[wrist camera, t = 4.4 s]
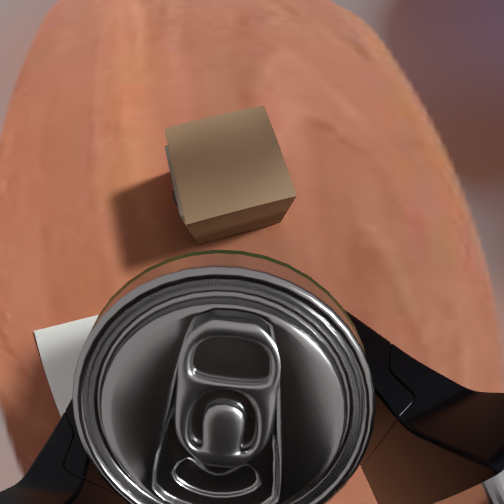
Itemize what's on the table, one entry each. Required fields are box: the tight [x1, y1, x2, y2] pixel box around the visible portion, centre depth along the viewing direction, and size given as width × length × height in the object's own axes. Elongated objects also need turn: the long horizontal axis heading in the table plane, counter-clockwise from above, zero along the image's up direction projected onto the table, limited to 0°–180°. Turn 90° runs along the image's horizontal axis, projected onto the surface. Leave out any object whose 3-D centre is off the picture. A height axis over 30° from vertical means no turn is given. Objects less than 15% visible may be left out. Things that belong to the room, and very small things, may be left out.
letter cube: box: [165, 106, 296, 244], centre depth 15 cm, size 4×5×4 cm
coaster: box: [34, 315, 98, 417], centre depth 15 cm, size 7×7×1 cm
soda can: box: [72, 250, 376, 504], centre depth 9 cm, size 5×5×12 cm
